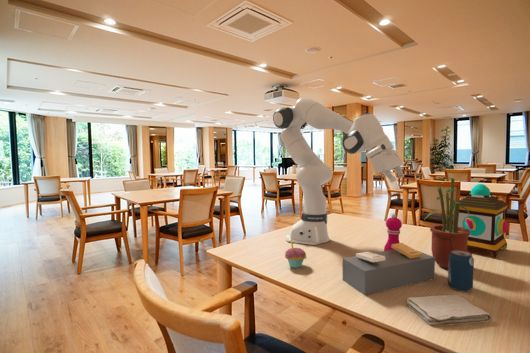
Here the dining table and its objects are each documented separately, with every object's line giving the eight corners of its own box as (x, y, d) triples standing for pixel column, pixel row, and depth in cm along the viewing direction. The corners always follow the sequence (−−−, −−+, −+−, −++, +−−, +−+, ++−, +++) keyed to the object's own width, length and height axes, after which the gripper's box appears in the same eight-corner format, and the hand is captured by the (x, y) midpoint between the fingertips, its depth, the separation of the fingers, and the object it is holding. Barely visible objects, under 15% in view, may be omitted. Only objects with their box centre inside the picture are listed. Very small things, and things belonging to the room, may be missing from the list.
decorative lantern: (511, 249, 131) (515, 183, 128) (499, 260, 119) (502, 187, 116) (460, 239, 147) (462, 180, 144) (444, 248, 134) (447, 183, 132)
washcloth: (403, 305, 88) (403, 295, 87) (457, 300, 90) (458, 291, 90) (430, 329, 76) (431, 318, 76) (492, 323, 78) (493, 312, 78)
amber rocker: (391, 247, 109) (391, 244, 109) (401, 245, 111) (402, 242, 111) (410, 258, 101) (410, 255, 101) (421, 256, 103) (421, 253, 102)
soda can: (478, 290, 95) (479, 254, 94) (461, 293, 93) (463, 257, 92) (458, 281, 101) (459, 247, 100) (442, 284, 99) (443, 250, 98)
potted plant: (473, 275, 106) (477, 179, 103) (425, 269, 112) (427, 178, 108) (460, 258, 123) (463, 175, 119) (418, 254, 128) (420, 174, 125)
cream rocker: (356, 256, 104) (355, 253, 104) (367, 254, 106) (367, 251, 106) (373, 262, 95) (372, 258, 95) (385, 260, 97) (385, 256, 97)
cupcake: (292, 271, 113) (291, 241, 112) (281, 264, 120) (280, 235, 119) (310, 267, 117) (310, 237, 116) (298, 260, 124) (298, 232, 123)
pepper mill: (401, 259, 123) (402, 212, 121) (403, 265, 116) (404, 216, 114) (383, 257, 125) (383, 211, 123) (384, 263, 118) (384, 215, 116)
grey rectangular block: (342, 279, 105) (342, 256, 104) (407, 266, 115) (407, 245, 114) (364, 295, 93) (364, 269, 93) (434, 279, 104) (435, 255, 103)
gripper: (383, 150, 127) (399, 178, 125) (363, 155, 112) (381, 187, 110) (396, 143, 123) (413, 172, 121) (378, 147, 108) (396, 180, 106)
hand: (398, 179), depth 115 cm, fingers open, 8 cm apart
